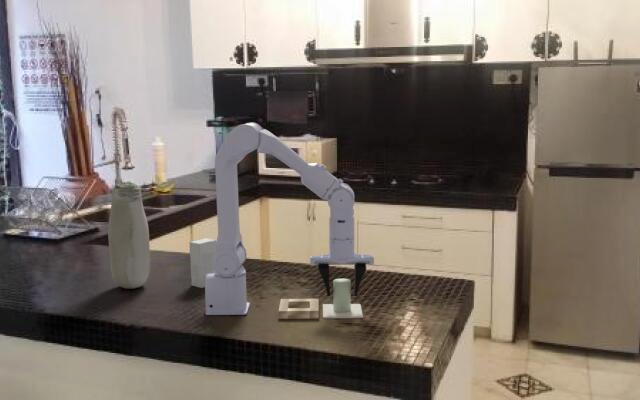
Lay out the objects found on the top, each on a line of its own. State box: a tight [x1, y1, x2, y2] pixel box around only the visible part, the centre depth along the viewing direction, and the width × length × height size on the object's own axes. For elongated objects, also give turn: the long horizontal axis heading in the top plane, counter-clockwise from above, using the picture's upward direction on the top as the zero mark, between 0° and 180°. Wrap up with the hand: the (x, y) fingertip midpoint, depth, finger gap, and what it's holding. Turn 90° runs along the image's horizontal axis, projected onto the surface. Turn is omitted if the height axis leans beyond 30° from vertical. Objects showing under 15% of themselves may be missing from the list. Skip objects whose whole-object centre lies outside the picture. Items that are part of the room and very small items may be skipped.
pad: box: [322, 303, 364, 319], centre depth 155 cm, size 9×9×1 cm
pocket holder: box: [278, 298, 320, 320], centre depth 154 cm, size 9×9×2 cm
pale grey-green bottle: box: [107, 181, 151, 290], centre depth 174 cm, size 10×10×28 cm
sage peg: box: [332, 278, 352, 313], centre depth 154 cm, size 4×4×7 cm
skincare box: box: [189, 237, 217, 289], centre depth 177 cm, size 6×4×12 cm
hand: (342, 295), depth 154 cm, fingers open, 6 cm apart
